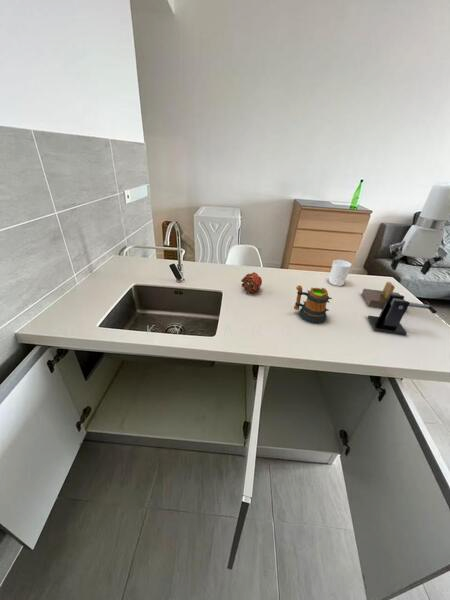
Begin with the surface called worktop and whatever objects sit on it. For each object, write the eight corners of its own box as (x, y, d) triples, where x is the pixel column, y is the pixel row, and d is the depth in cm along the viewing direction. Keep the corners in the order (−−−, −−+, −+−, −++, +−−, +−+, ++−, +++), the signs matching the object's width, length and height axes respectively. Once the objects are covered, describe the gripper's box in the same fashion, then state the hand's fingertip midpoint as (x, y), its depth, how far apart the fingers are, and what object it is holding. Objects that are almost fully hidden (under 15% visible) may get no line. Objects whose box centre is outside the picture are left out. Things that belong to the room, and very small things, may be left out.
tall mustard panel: (381, 293, 102) (386, 281, 99) (385, 293, 102) (390, 281, 99) (385, 298, 98) (391, 286, 95) (389, 299, 98) (395, 286, 95)
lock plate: (395, 298, 105) (398, 292, 103) (405, 311, 96) (409, 304, 95) (361, 294, 107) (363, 288, 105) (368, 306, 98) (371, 299, 97)
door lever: (425, 305, 83) (428, 299, 82) (434, 315, 78) (438, 309, 77) (387, 300, 85) (390, 294, 84) (394, 310, 80) (397, 303, 79)
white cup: (347, 286, 112) (354, 266, 107) (331, 286, 112) (337, 266, 107) (340, 279, 119) (347, 260, 114) (324, 278, 119) (330, 259, 113)
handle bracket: (395, 322, 90) (410, 294, 84) (405, 335, 83) (421, 306, 77) (367, 317, 91) (379, 290, 85) (374, 331, 84) (387, 302, 78)
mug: (325, 311, 94) (333, 284, 88) (327, 326, 85) (337, 298, 79) (291, 305, 96) (296, 279, 90) (290, 319, 88) (296, 291, 82)
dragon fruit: (249, 300, 101) (248, 290, 112) (267, 290, 98) (264, 281, 109) (238, 284, 98) (238, 275, 109) (256, 273, 96) (255, 265, 107)
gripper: (455, 224, 81) (430, 270, 90) (397, 218, 85) (379, 263, 94) (467, 229, 75) (439, 279, 84) (404, 223, 79) (384, 271, 88)
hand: (407, 270), depth 89 cm, fingers open, 9 cm apart
